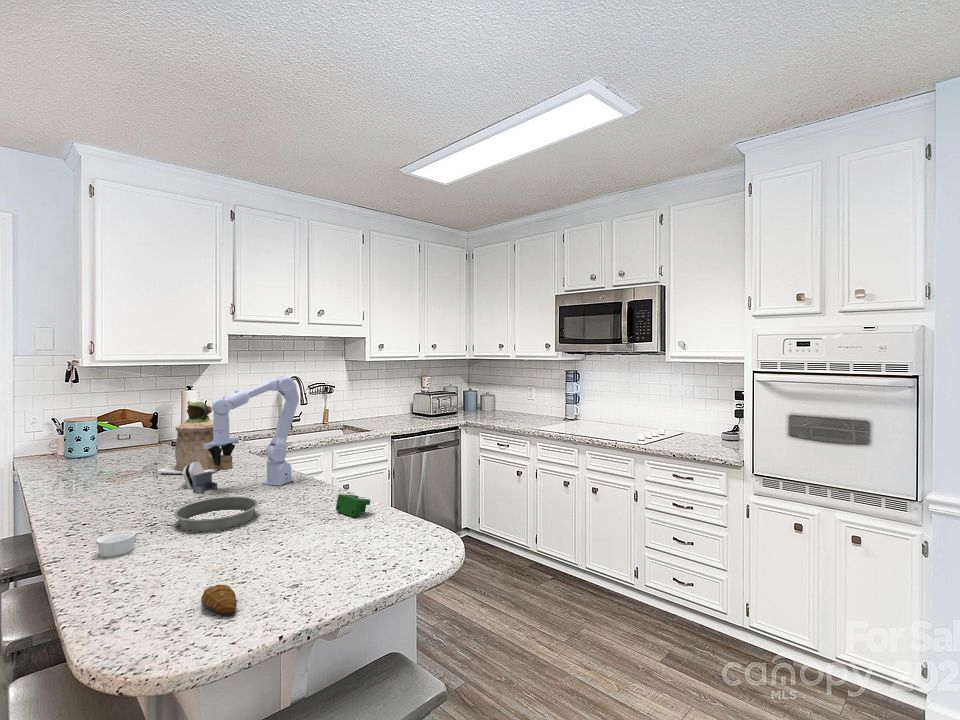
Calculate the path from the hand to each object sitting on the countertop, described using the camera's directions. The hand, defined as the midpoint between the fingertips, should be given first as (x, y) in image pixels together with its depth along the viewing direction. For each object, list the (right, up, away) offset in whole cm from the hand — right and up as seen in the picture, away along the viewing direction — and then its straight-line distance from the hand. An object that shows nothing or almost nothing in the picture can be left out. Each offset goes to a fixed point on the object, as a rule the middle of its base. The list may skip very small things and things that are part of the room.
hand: (221, 464), depth 207 cm
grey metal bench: (-7, -11, 0) cm, 13 cm away
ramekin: (+1, -13, -61) cm, 62 cm away
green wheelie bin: (+59, -11, -29) cm, 66 cm away
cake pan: (+16, -12, -35) cm, 40 cm away
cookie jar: (-30, -10, +39) cm, 50 cm away
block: (-1, -2, +1) cm, 2 cm away
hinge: (-16, -11, +11) cm, 22 cm away
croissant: (+45, -13, -92) cm, 104 cm away
